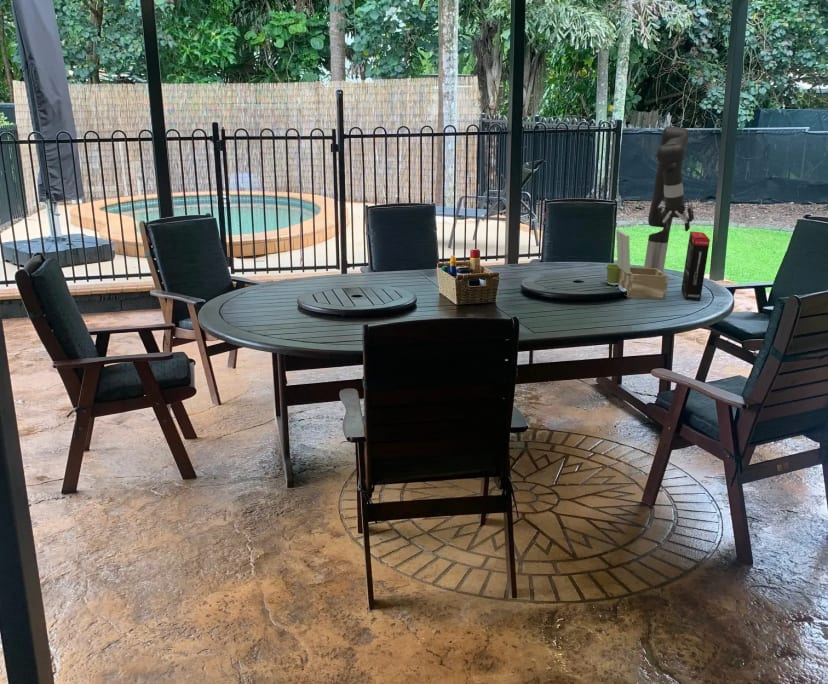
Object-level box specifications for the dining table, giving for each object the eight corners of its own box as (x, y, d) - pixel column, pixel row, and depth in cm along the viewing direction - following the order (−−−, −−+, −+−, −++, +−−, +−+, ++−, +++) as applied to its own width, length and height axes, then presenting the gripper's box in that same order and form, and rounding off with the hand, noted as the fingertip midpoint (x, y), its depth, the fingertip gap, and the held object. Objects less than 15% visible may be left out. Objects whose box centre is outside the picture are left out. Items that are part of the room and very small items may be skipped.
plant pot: (602, 285, 348) (605, 266, 346) (604, 281, 357) (606, 263, 354) (623, 288, 346) (626, 269, 343) (624, 284, 354) (627, 265, 352)
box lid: (620, 267, 342) (617, 267, 342) (619, 229, 336) (616, 229, 336) (630, 275, 327) (627, 275, 327) (629, 235, 322) (626, 236, 322)
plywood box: (617, 288, 345) (621, 266, 342) (653, 290, 345) (656, 268, 342) (627, 297, 329) (631, 274, 326) (664, 299, 330) (668, 276, 327)
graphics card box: (700, 301, 330) (712, 238, 322) (684, 299, 331) (694, 236, 323) (695, 292, 346) (705, 232, 338) (679, 291, 348) (689, 230, 339)
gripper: (694, 190, 315) (696, 227, 322) (660, 190, 324) (663, 226, 331) (687, 196, 310) (690, 234, 317) (653, 196, 319) (656, 233, 326)
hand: (676, 230), depth 324 cm, fingers open, 8 cm apart
